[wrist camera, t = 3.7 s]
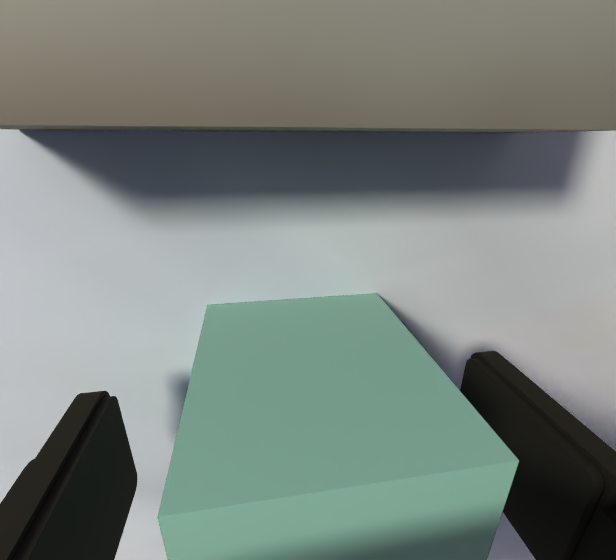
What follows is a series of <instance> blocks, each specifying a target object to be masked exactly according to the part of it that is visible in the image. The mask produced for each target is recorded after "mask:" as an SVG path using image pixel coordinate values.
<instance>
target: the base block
mask: <svg viewBox="0 0 616 560" xmlns="http://www.w3.org/2000/svg"><path fill="white" fill-rule="evenodd" d="M0 129H27V130H179V131H331V132H483V133H524V132H566V131H608V130H616V0H0Z"/></svg>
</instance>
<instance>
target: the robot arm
mask: <svg viewBox="0 0 616 560" xmlns="http://www.w3.org/2000/svg"><path fill="white" fill-rule="evenodd" d="M460 392H461V393H462V394H463V395H464V396H465V397H466V399H467V400H468V401H469V402H470V403H471V405H472V406H473V407H474V408H475V409H476V410H477V412H478V413H479V414H480V415H481V416H482V417H483V419H484V420H485V421H486V422H487V423H488V425H489V426H490V427H491V428H492V429H493V430H494V432H495V433H496V434H497V435H498V436H499V437H500V439H501V440H502V441H503V442H504V443H505V445H506V446H507V447H508V448H509V449H510V450H511V452H512V453H513V454H514V455H515V456H516V457H517V459H518V460H519V463H518V466H517V469H516V472H515V475H514V478H513V481H512V484H511V487H510V490H509V493H508V496H507V499H506V503H505V506H504V509H503V513H504V514H505V516H506V517H507V518H508V520H509V521H510V523H511V524H512V526H513V527H514V529H515V530H516V531H517V533H518V534H519V536H520V537H521V539H522V540H523V542H524V543H525V544H526V546H527V547H528V549H529V550H530V552H531V553H532V555H533V556H534V557H535V559H536V560H616V452H615V451H614V450H613V449H612V448H611V447H609V446H608V445H607V444H606V443H605V442H604V441H602V440H601V439H600V438H599V437H598V436H596V435H595V434H594V433H593V432H592V431H591V430H589V429H588V428H587V427H586V426H585V425H583V424H582V423H581V422H580V421H579V420H577V419H576V418H575V417H574V416H573V415H572V414H570V413H569V412H568V411H567V410H566V409H564V408H563V407H562V406H561V405H560V404H558V403H557V402H556V401H555V400H554V399H553V398H551V397H550V396H549V395H548V394H547V393H545V392H544V391H543V390H542V389H541V388H540V387H538V386H537V385H536V384H535V383H534V382H532V381H531V380H530V379H529V378H528V377H526V376H525V375H524V374H523V373H522V372H521V371H519V370H518V369H517V368H516V367H515V366H513V365H512V364H511V363H510V362H509V361H507V360H506V359H505V358H504V357H503V356H502V355H500V354H499V353H498V352H496V351H488V352H478V353H474V354H473V355H472V356H471V358H470V359H468V360H467V362H466V366H465V371H464V376H463V380H462V385H461V390H460ZM136 487H137V472H136V468H135V465H134V461H133V457H132V453H131V449H130V445H129V442H128V438H127V434H126V430H125V426H124V423H123V419H122V415H121V411H120V407H119V403H118V400H117V398H116V397H115V396H111V397H110V395H109V393H108V392H107V391H99V392H90V393H81V394H78V395H77V396H76V397H75V399H74V400H73V402H72V403H71V405H70V406H69V408H68V409H67V411H66V413H65V414H64V416H63V417H62V419H61V420H60V422H59V423H58V425H57V426H56V428H55V429H54V431H53V432H52V434H51V435H50V437H49V438H48V440H47V441H46V443H45V444H44V446H43V447H42V449H41V450H40V452H39V453H38V455H37V457H36V458H35V459H33V460H32V461H30V462H29V463H28V465H27V466H26V467H25V468H24V469H23V471H22V472H21V474H20V475H19V477H18V478H17V480H16V481H15V483H14V484H13V486H12V487H11V489H10V490H9V492H8V493H7V495H6V496H5V498H4V499H3V501H2V502H1V504H0V560H114V558H115V555H116V552H117V549H118V546H119V542H120V539H121V536H122V533H123V530H124V526H125V523H126V520H127V517H128V514H129V510H130V507H131V504H132V501H133V498H134V494H135V491H136Z"/></svg>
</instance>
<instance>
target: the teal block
mask: <svg viewBox="0 0 616 560" xmlns="http://www.w3.org/2000/svg"><path fill="white" fill-rule="evenodd" d="M518 463H519V460H518V459H517V457H516V456H515V455H514V454H513V453H512V452H511V450H510V449H509V448H508V447H507V446H506V445H505V443H504V442H503V441H502V440H501V439H500V437H499V436H498V435H497V434H496V433H495V432H494V430H493V429H492V428H491V427H490V426H489V425H488V423H487V422H486V421H485V420H484V419H483V417H482V416H481V415H480V414H479V413H478V412H477V410H476V409H475V408H474V407H473V406H472V405H471V403H470V402H469V401H468V400H467V399H466V397H465V396H464V395H463V394H462V393H461V392H460V390H459V389H458V388H457V387H456V386H455V385H454V383H453V382H452V381H451V380H450V379H449V377H448V376H447V375H446V374H445V373H444V372H443V370H442V369H441V368H440V367H439V366H438V364H437V363H436V362H435V361H434V360H433V359H432V357H431V356H430V355H429V354H428V353H427V352H426V350H425V349H424V348H423V347H422V346H421V344H420V343H419V342H418V341H417V340H416V339H415V337H414V336H413V335H412V334H411V333H410V332H409V330H408V329H407V328H406V327H405V326H404V324H403V323H402V322H401V321H400V320H399V319H398V317H397V316H396V315H395V314H394V313H393V312H392V310H391V309H390V308H389V307H388V306H387V304H386V303H385V302H384V301H383V300H382V299H381V297H380V296H379V295H378V294H377V293H372V294H358V295H343V296H328V297H313V298H299V299H284V300H269V301H255V302H240V303H225V304H210V305H207V308H206V313H205V317H204V321H203V325H202V330H201V334H200V338H199V342H198V347H197V351H196V355H195V359H194V364H193V368H192V372H191V376H190V381H189V385H188V389H187V393H186V398H185V402H184V406H183V410H182V415H181V419H180V423H179V427H178V432H177V436H176V440H175V444H174V449H173V453H172V457H171V461H170V466H169V470H168V474H167V478H166V483H165V487H164V491H163V496H162V500H161V504H160V508H159V513H158V517H157V518H158V522H159V526H160V530H161V534H162V538H163V542H164V546H165V550H166V554H167V559H168V560H487V558H488V554H489V551H490V548H491V545H492V542H493V539H494V536H495V533H496V530H497V527H498V524H499V521H500V518H501V515H502V512H503V509H504V506H505V503H506V499H507V496H508V493H509V490H510V487H511V484H512V481H513V478H514V475H515V472H516V469H517V466H518Z"/></svg>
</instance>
